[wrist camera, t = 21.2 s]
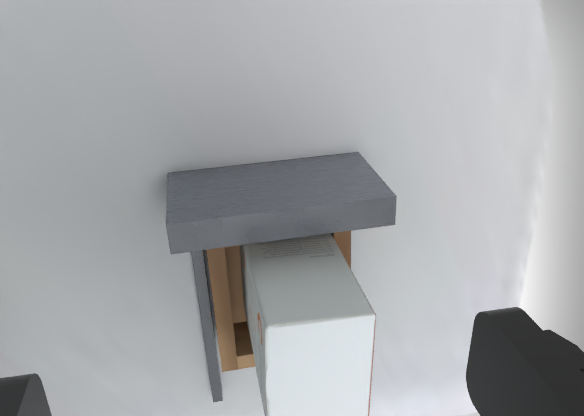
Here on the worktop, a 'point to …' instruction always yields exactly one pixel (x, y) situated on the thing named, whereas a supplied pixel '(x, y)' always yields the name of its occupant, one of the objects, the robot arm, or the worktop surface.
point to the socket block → (240, 302)
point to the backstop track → (269, 212)
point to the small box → (308, 327)
